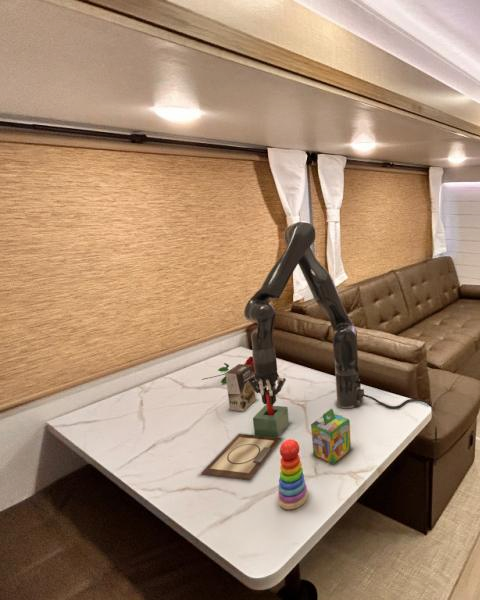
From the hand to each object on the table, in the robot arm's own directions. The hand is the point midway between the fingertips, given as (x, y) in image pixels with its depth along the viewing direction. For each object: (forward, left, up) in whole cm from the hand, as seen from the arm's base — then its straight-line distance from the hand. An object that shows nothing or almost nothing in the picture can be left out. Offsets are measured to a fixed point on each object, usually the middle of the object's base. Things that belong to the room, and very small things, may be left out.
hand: (269, 403), depth 133 cm
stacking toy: (-22, +30, -11) cm, 39 cm away
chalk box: (-26, +9, -11) cm, 30 cm away
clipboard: (+2, +15, -11) cm, 18 cm away
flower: (+37, -36, -11) cm, 53 cm away
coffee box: (+20, -14, -11) cm, 27 cm away
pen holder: (0, 0, -11) cm, 11 cm away
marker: (0, 0, -8) cm, 8 cm away
